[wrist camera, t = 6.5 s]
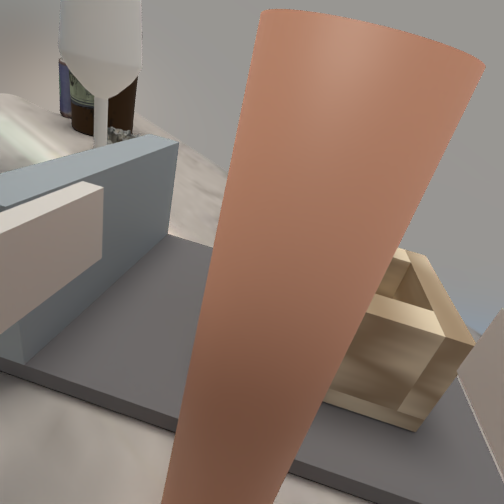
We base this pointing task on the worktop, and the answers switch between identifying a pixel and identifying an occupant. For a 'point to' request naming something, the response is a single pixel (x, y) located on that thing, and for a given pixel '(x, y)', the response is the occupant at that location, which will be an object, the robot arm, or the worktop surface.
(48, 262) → the robot arm
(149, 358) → the mat
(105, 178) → the wall
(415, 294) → the socket block
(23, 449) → the worktop surface
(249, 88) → the dowel
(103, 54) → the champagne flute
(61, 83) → the flask
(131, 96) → the olive oil
